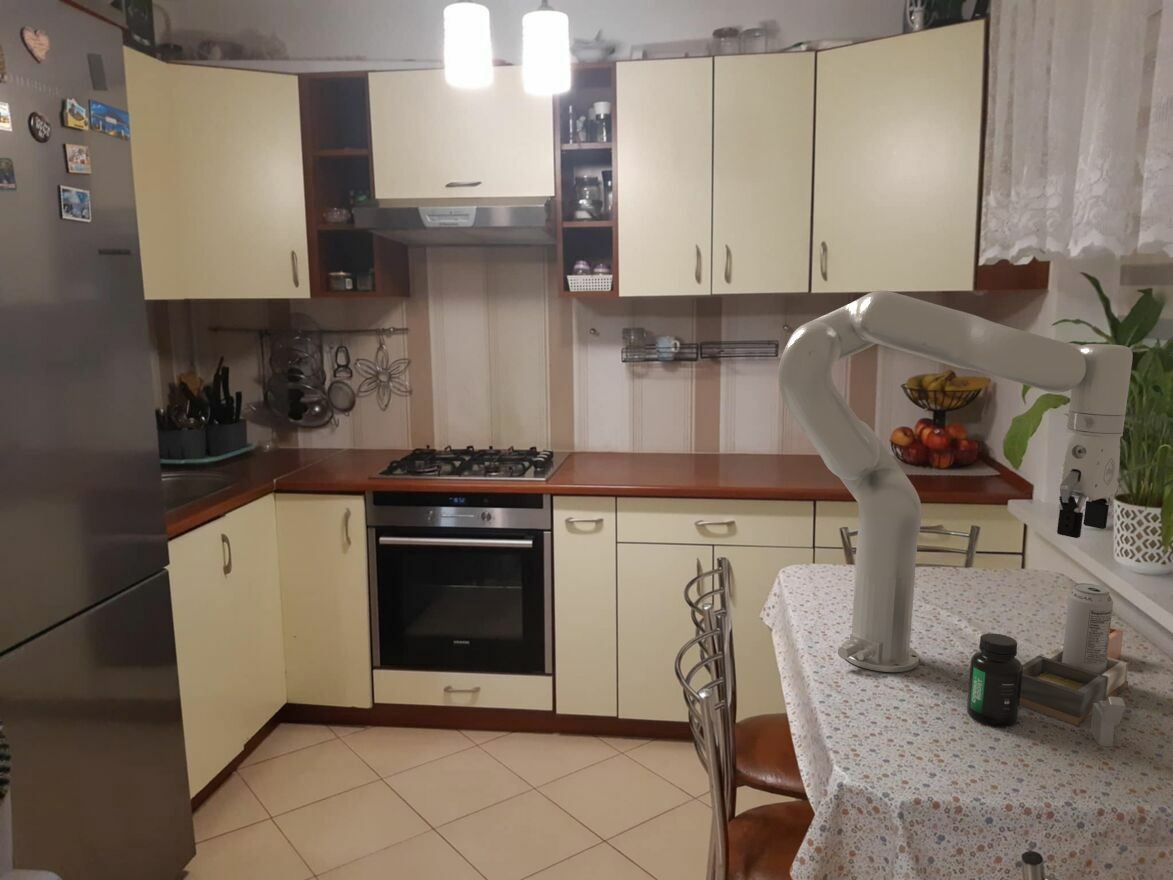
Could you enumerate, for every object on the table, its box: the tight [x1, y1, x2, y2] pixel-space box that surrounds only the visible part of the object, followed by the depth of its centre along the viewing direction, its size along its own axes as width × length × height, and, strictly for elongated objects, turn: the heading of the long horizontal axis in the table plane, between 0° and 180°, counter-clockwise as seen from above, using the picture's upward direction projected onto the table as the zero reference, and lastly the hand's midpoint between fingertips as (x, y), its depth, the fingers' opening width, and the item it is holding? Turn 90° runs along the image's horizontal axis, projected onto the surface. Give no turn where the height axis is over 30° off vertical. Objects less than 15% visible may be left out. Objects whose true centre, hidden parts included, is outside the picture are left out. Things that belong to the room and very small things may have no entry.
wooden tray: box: [1019, 644, 1129, 726], centre depth 130 cm, size 20×10×4 cm, turn 130°
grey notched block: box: [1089, 696, 1126, 748], centre depth 115 cm, size 7×2×8 cm, turn 164°
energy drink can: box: [1062, 582, 1114, 675], centre depth 133 cm, size 6×6×15 cm
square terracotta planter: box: [1107, 626, 1124, 660], centre depth 144 cm, size 6×6×9 cm
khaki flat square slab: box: [1036, 672, 1085, 691], centre depth 128 cm, size 7×7×1 cm
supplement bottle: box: [966, 632, 1023, 728], centre depth 122 cm, size 7×7×12 cm
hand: (1081, 531), depth 132 cm, fingers open, 9 cm apart
